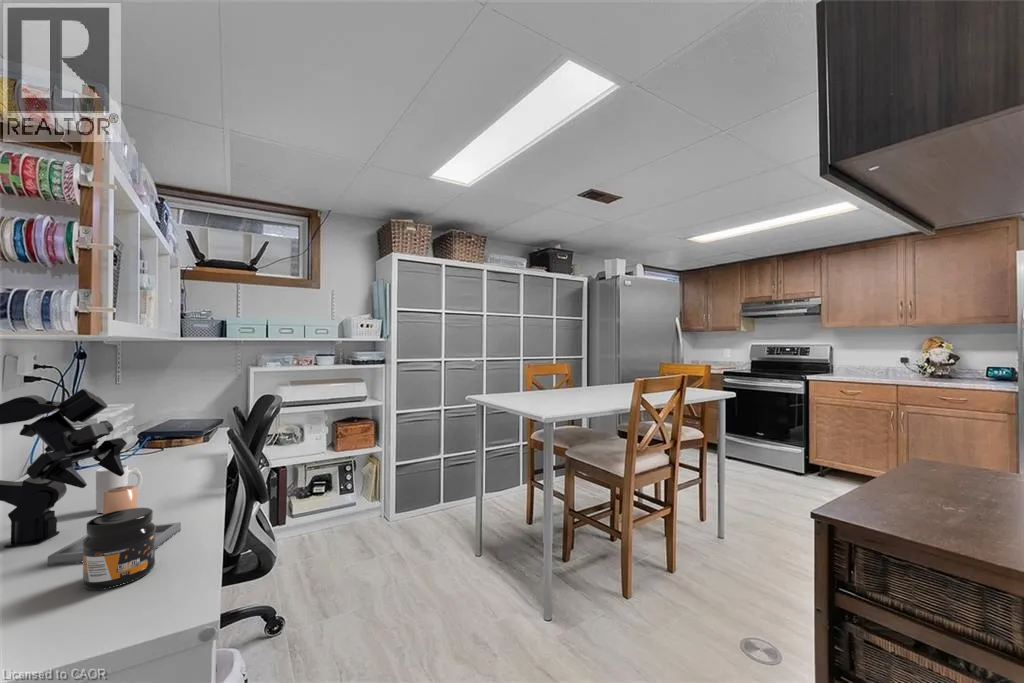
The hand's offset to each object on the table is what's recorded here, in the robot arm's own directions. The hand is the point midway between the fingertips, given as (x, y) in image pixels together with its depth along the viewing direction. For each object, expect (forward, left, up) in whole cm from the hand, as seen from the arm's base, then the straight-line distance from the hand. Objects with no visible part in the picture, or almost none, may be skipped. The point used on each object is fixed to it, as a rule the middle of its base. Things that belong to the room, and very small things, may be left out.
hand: (104, 480), depth 101 cm
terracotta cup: (+8, -8, -13) cm, 17 cm away
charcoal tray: (+8, -8, -14) cm, 17 cm away
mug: (-9, +22, -14) cm, 28 cm away
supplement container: (+17, -24, -14) cm, 32 cm away
